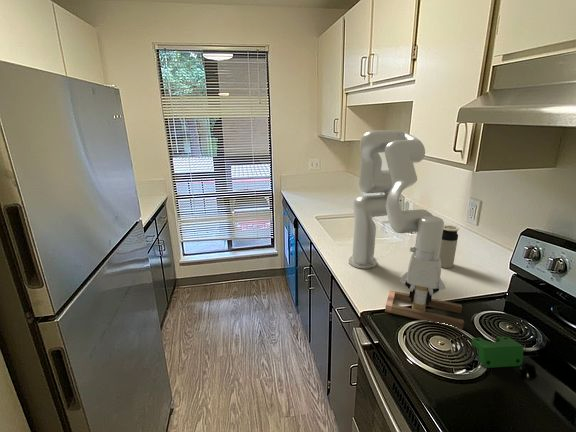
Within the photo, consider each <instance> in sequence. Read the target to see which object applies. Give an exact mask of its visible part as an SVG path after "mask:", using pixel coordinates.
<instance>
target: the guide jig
mask: <svg viewBox="0 0 576 432" xmlns="http://www.w3.org/2000/svg"><path fill="white" fill-rule="evenodd" d="M409 294H410V293H406V292H400V291H396V290H389V292H388V296H387V299H386V302H385V309H384V312H386V313H389V314H394V315H399V316H402V317H403V316H404V317H406V318H407V317H408V318H411V319H416V320H420V321H425V322H429V321H431V322H430V323H433V322H439V323H445V324H448V325H452V326H454V327H453V328H455V327H457V328H456V329H461V330H463V329H464V324H465V320H464V319H460V318H456V317H452V316H447V315H443V314H438V313H434V312H429V311H426V310H425V311H420V310H416V309H412V307H411V308H410V307H405V306H402V305H397V304H394V303H395V300H396V301H401V302H405V303H410V304H413V302H411V298H409ZM426 307H429V308H433V309H439V310H443V311H449V312H454V313H458V314H462V309H463V305H462V304H460V303H456V302H450V301H446V300H441V299H436V298H432V299H431V302H429V305H426Z"/></svg>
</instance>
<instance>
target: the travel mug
mask: <svg viewBox="0 0 576 432" xmlns="http://www.w3.org/2000/svg"><path fill="white" fill-rule="evenodd" d="M459 229H460V228H459V227H457V226H456V225H452V224H444V227H443V234H442V240H441V246H440V253H439V258H440V259H441V269H442V268H443V269H449V268H451V269H452V268H453V267H454V265H455V264H454V263H455V257H456V251H457V245H458V239H459V234H458V231H460V230H459Z"/></svg>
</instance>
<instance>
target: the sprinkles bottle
mask: <svg viewBox="0 0 576 432" xmlns="http://www.w3.org/2000/svg"><path fill="white" fill-rule="evenodd" d="M414 289H415V290H414V297H413V303H412V305H411V309H416V310H420V311H425V312H426V307H427V306H426V302H427V295H428V291H429V288H425V287H420V286H415V287H414Z"/></svg>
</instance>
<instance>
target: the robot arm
mask: <svg viewBox="0 0 576 432" xmlns="http://www.w3.org/2000/svg"><path fill="white" fill-rule="evenodd" d="M380 153H381V154H382V153H384V156H385V157H384V158H385V160H386V164H387V169H382V164H383V160H382V156H381V155H380ZM359 155H360V170H359V179H358V180H359V181H358V186H359V191H361V193H363V194H367V195H361V196H358V197H356V199H354V200H353V206H352V207H353V215H354V216H353V218H354V221H353V222H354V223H353V241H352V255H351V256H350V257H349V258H348V263H349V265H351V266H353V267H355V268H358V269H364V270H365V269H366V270H369V269H373V268H375V267H377V265H378V263H377V262H378V261H377V260H376V259H375V248H376V247H375V245H376V237H377V236H376V235H377V226H376V223H375V221H374V220H373V218H376V217H377V218H378V217H386V216H387V219H388V222H389V225H390V227H391V229H392V231H394V232H395V233H397V234H408V233H416V239H415V245H414V246H413V247H410V248H409V252H410V253H411V252H412V254H411V256H410V259H409V264H408V267H407V272H406V273H404V274H403V275H402V276H401V277H400V279H399V281H400V282H402V283H403V284H404V285H405V286H406V287H407V289H408V291H409V293H408V294H409V298H411V302H413V297H414V290H415V286H420V287H425V288H428V295H427V302H426V305H429V302H431V299H433V296H434V294H436V293H438V292H439V291H442V290H445V289H446V285H445V283H444V281H443V279H442V278H441V273H442V267H441V259H440V258H439V253H440V246H441V240H442V234H443V227H444V225H445V222H444V220H443V218H441V217H439V216H434V215H433V214H432V213H431V212H430V211H428V210H426V209H424V208H423V209H409V210H402V207H401V204H400V203H401V202H400V199H401V195H402V193H403V191H404V190H406V189H408V188H409V187H412V186H413V185H414V184H416V183H417V182H418V175H417V172H416V169H415V165H414V164H415V163H416V164H417V163H420V162H421V161H423V160H424V158H425V156H426V148H425V145H424V144H423V142H422V141H421V140H420V139H418V138H417V137H415V136H413V135H412V134H410V133H408V132H406V131H405V130H400V129H398V130H397V129H396V130H395V129H393V130H391V129H388V130H386V129H384V130H383V129H381V130H380V129H379V130H369V131H367V132H365V133H364V134H363V135H362V136H361V138H360V140H359ZM377 193H379V194H377ZM369 194H370V195H369ZM371 194H372V195H371Z"/></svg>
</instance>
